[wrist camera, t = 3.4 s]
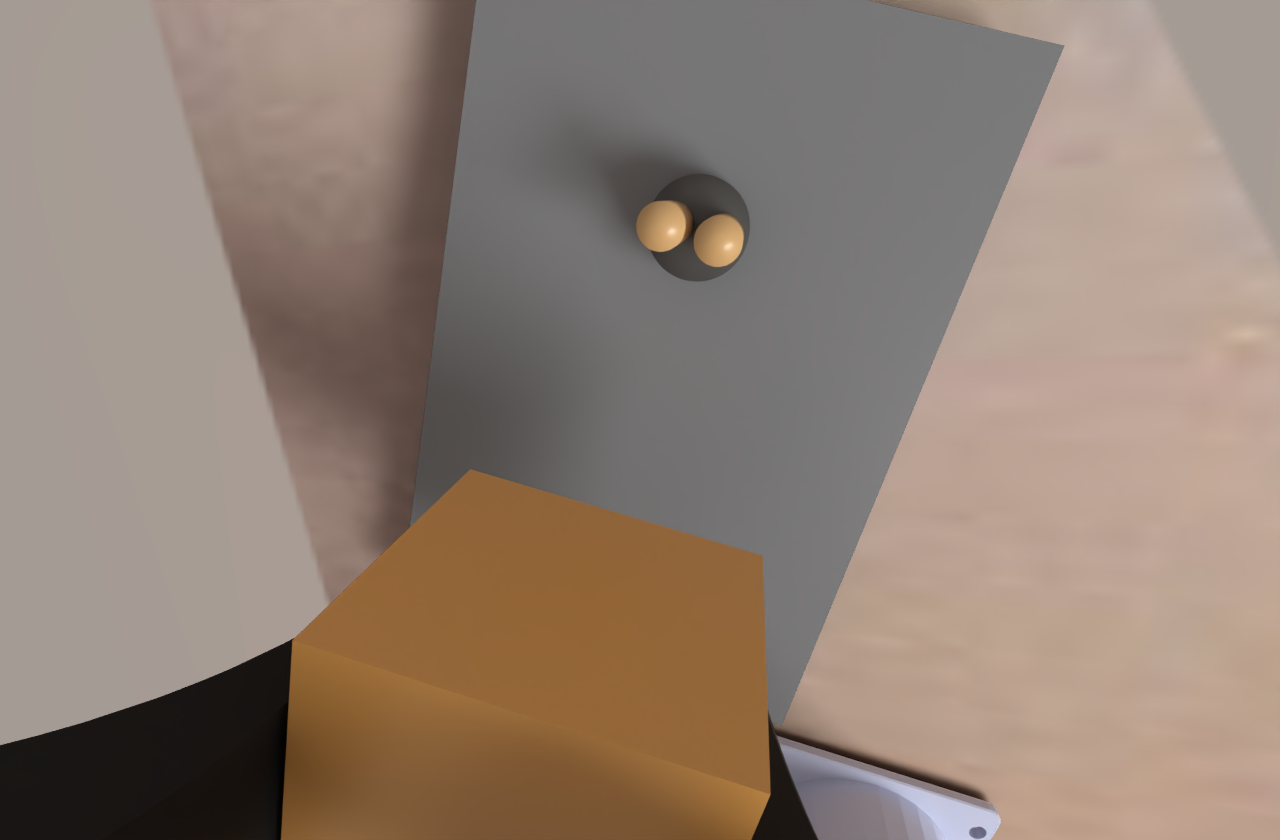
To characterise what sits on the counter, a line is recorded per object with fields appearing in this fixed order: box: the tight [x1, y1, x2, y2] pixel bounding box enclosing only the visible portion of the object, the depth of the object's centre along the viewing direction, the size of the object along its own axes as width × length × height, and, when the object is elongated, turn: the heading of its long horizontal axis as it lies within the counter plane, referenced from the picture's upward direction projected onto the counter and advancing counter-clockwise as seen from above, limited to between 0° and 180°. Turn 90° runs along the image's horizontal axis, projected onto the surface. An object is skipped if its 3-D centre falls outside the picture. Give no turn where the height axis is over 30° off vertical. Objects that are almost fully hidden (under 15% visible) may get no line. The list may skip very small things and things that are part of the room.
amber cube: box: [281, 469, 771, 840], centre depth 11 cm, size 6×6×5 cm
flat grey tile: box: [410, 0, 1064, 726], centre depth 16 cm, size 18×12×5 cm, turn 166°
